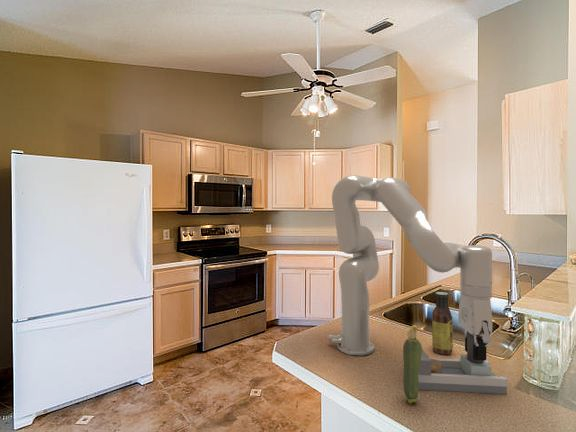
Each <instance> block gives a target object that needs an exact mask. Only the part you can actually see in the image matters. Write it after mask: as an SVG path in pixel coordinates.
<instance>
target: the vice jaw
mask: <svg viewBox="0 0 576 432" xmlns="http://www.w3.org/2000/svg"><path fill="white" fill-rule="evenodd" d="M479 334H482V332H480V333H479ZM480 338H483V337H478V340H479V339H480ZM473 345H475V343H474V335H471V334H470V333H469V332H468V331H467V352H466V354H462V353H461V354H460V359H461V364H460V368H461V369H462V370H463V371H464V373H465V374H466V375H479V376H491V372H492V366H491V365H490V363H489V364H488V363H487V362H486V361H487V360H485V361H484V360H474V359H473Z"/></svg>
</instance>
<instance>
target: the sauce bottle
mask: <svg viewBox="0 0 576 432" xmlns="http://www.w3.org/2000/svg"><path fill="white" fill-rule="evenodd" d="M434 295H435V307H434V309H433V310H432V315H431V316H432V320H431V321H432V322H431V326H432V328H431V329H432V330H431V331H432V332H431V333H432V335H431V338H432V339H431V340H432V350H433V351H434V352H435V353H437V354H439V355H445V356H449V355H452V353H453V349H454V346H453V345H454V343H453V342H454V340H453V339H454V337H453V336H454V332H453V329H454V328H453V327H454V326H453V323H454V322H453V315H452V312H451V310H450V307H449V297H450V295H449V293H448V292H445V291H436V292H435V294H434Z"/></svg>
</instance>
